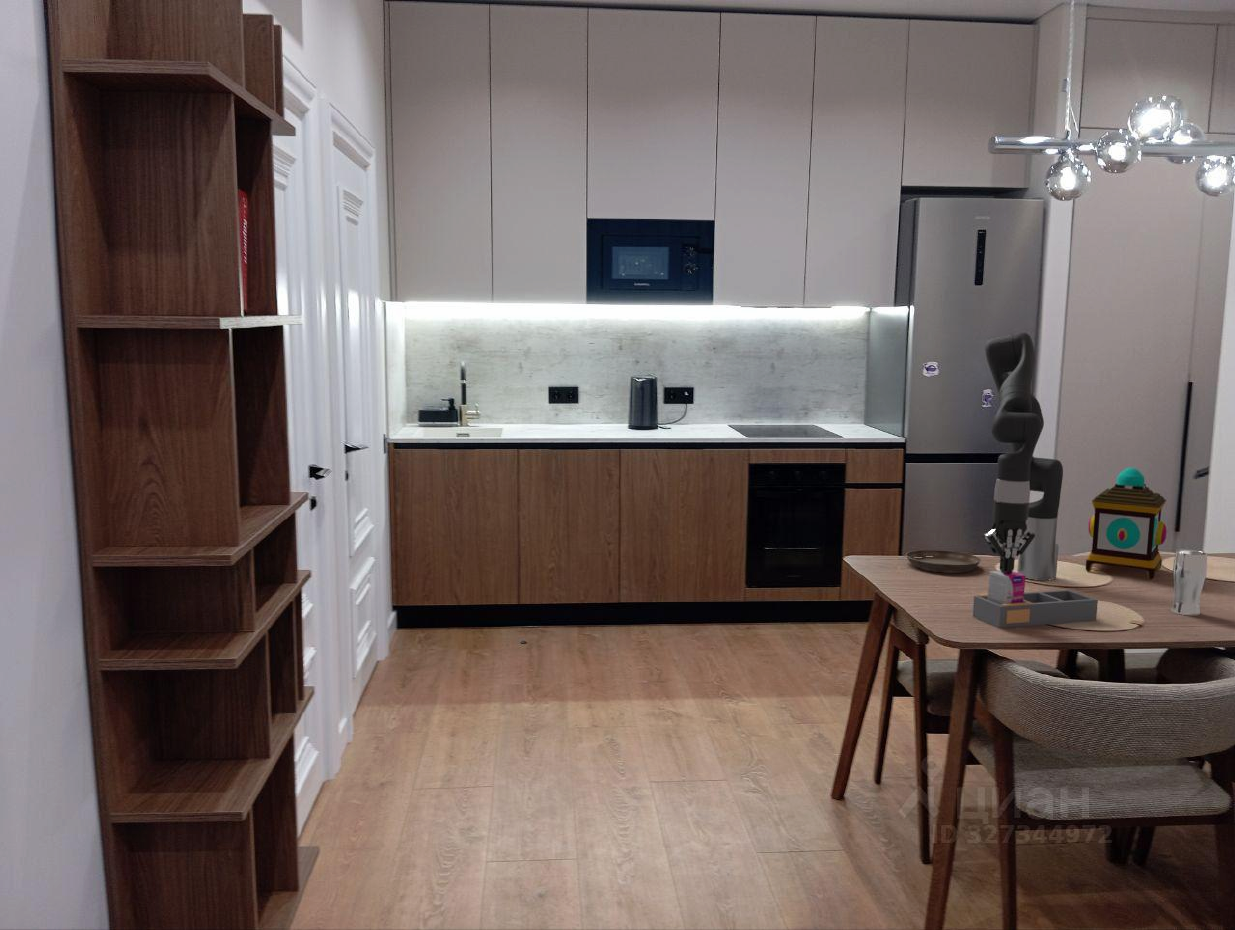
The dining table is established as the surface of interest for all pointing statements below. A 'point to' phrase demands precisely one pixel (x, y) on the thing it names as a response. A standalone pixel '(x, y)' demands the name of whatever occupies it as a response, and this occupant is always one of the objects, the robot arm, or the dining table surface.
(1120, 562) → the decorative lantern
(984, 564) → the dining table surface
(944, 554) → the plant saucer
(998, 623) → the rack
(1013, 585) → the supplement box
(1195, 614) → the beer glass
